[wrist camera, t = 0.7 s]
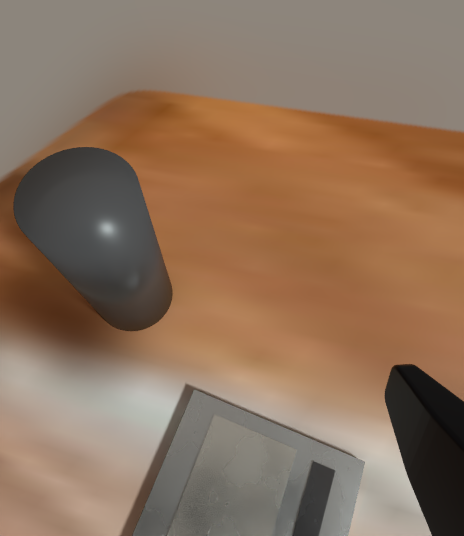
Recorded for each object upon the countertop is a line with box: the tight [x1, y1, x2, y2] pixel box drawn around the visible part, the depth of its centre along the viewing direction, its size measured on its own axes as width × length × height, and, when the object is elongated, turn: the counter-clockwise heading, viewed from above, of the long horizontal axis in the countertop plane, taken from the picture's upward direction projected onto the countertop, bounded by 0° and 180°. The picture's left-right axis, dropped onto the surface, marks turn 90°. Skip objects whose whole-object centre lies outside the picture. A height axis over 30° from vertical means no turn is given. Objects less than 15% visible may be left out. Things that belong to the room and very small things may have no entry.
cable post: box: [14, 147, 172, 331], centre depth 20 cm, size 5×5×11 cm
